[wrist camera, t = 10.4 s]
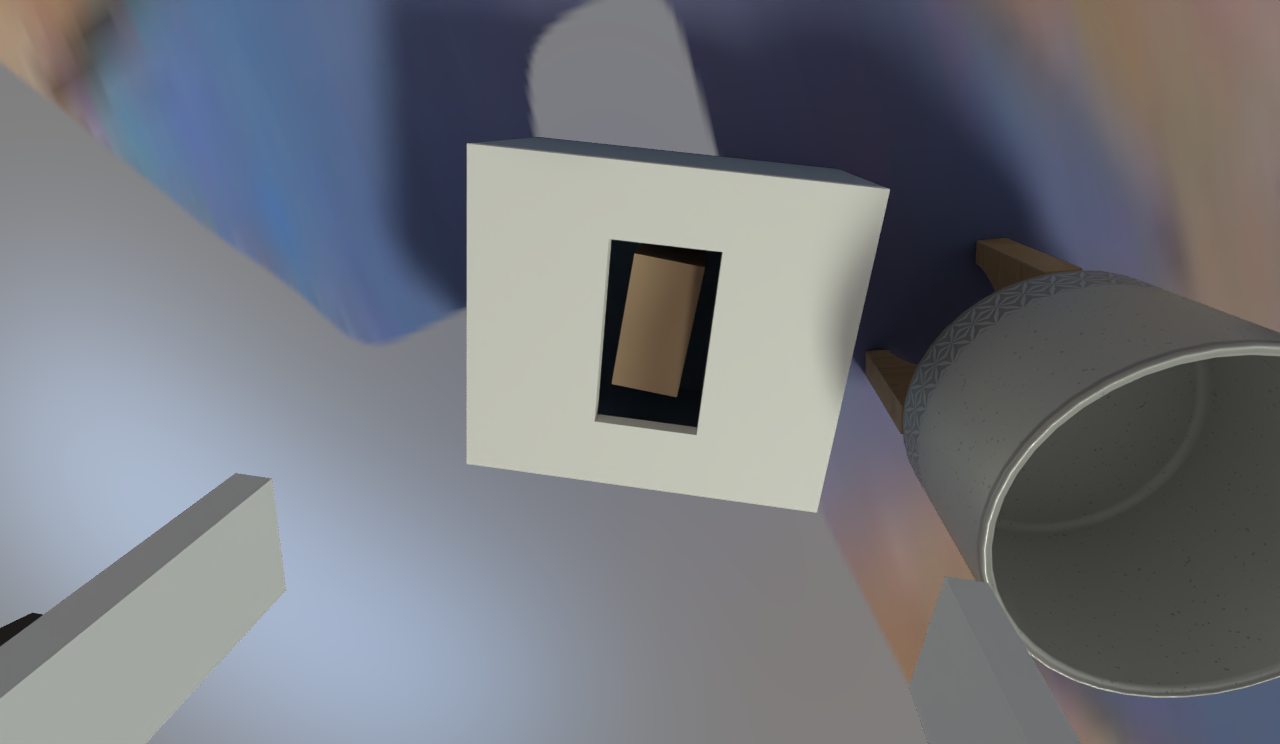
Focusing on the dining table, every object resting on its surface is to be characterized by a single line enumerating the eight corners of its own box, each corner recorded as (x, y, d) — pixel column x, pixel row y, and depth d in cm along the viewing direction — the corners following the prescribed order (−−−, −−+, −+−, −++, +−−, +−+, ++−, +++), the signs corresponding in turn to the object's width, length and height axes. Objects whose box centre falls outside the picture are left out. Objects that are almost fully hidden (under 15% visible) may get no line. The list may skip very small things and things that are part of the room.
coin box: (538, 136, 36) (466, 143, 25) (838, 169, 34) (890, 189, 24) (529, 377, 41) (466, 463, 30) (790, 411, 40) (816, 512, 29)
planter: (1124, 225, 34) (1511, 324, 18) (1096, 449, 38) (1383, 696, 22) (864, 251, 36) (993, 362, 19) (866, 462, 40) (971, 700, 24)
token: (634, 326, 38) (611, 383, 30) (653, 222, 36) (634, 253, 28) (685, 336, 38) (676, 397, 30) (707, 233, 36) (704, 267, 27)
